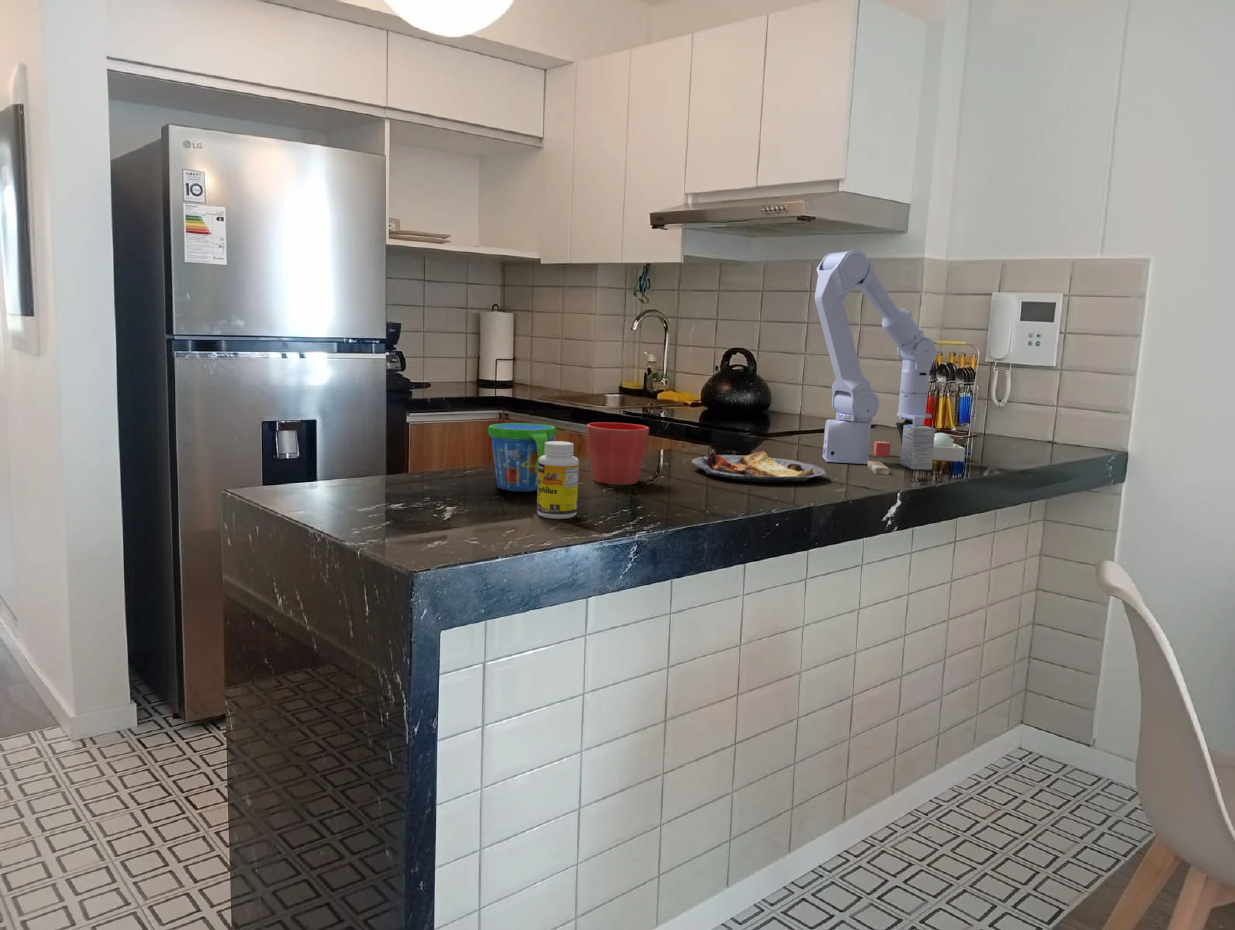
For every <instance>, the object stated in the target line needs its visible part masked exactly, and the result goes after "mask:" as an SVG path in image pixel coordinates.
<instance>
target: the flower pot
mask: <svg viewBox="0 0 1235 930" xmlns="http://www.w3.org/2000/svg"><path fill="white" fill-rule="evenodd" d="M586 432H587V440H588V441H587V443H588V451H589V458H590V467H591V472H592V473H591V474H592V480H593V481H594V482H596V483H599V484H606V485H610V486H611V485H614V486H615V485H616V486H627V485H634V484H637V483H638V482H639V478H640V473H641V470H642V464H643V461H644V455H645V452H646V447H647V443H648V439H649V438H648V437H649V433H650V427H649V426H646V425H643V424H634V423H626V422H625V423H624V422H607V421H605V422H602V421H601V422H600V421H599V422H597V421H596V422H589V423H587V425H586Z"/></svg>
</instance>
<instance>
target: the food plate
mask: <svg viewBox="0 0 1235 930" xmlns="http://www.w3.org/2000/svg"><path fill="white" fill-rule="evenodd" d="M706 454H707V455H706V456H705V455H704V456H697V457H695V458H694V459H691V461H690V463H691V464H693V465H695V466H696V467H698V468H700V469H701V470H703V471H704V472H705V474H706V475H710V476H717V477H721V478H726V479H729V480H731V479H733V480H738V481H744V482H752V483H753V482H755V483H756V482H757V483H789V482H790V481H791V482H799V481H801V482H807V481H808V480H809V479H812V478H814V477H817V476H818V477H819V476H822V475H824V474H826V473H827V472H826V470H825V469H824V468H823V467H821V466H820V465H817V464H813V463H808V462H803V461H802V462H801V461H798V460H792V459H786V458H785V459H784V458H775V457H770V456H768V454H767V452H766V450H761V451H758V452H753V453H751V454H747V455H744V454H743V455H741V454H739V455H736V454H734V455H732V454H716V453H715V452H713V451H710V452H707V453H706Z"/></svg>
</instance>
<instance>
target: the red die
mask: <svg viewBox="0 0 1235 930" xmlns="http://www.w3.org/2000/svg"><path fill="white" fill-rule="evenodd" d="M890 454H891V442H889V441H880V440H879V441H878V440H875V441H874V444H873V455H874V456H875V457H888V458H890Z"/></svg>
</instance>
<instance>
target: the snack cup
mask: <svg viewBox="0 0 1235 930" xmlns="http://www.w3.org/2000/svg"><path fill="white" fill-rule="evenodd" d="M487 433H488V435H489V437H490V439H491V445H492V454H493V462H494V471H495V478H496V485H497V488H499V489H500V490H503V491H509V492H525V493H526V492H528V493H529V492H537V489H538V462H539V458H540V457H541V456H543V455H546V454H545V453H544V452H545V451H544V449H545V442H550V441H554V440H555V437H556V435H557V428H556V427H555V426H554V425H551V424H550V425H548V424H543V423H542V424H541V423H527V422H526V423H525V422H522V423H521V422H518V423H517V422H510V423H509V422H506V423H503V422H502V423H495V424H490V425H489V426H488V427H487Z"/></svg>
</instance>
